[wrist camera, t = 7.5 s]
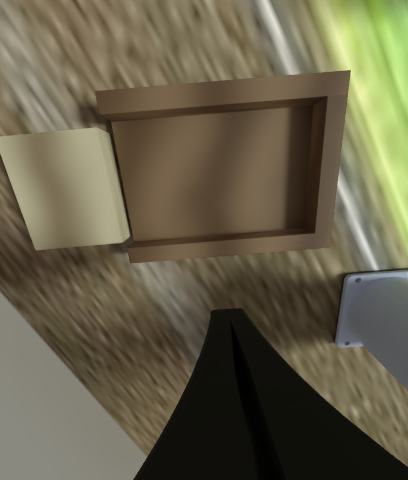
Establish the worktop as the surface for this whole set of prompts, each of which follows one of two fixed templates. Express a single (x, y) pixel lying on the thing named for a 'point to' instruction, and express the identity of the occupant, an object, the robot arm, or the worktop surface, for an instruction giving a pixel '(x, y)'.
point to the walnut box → (229, 164)
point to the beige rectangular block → (67, 187)
